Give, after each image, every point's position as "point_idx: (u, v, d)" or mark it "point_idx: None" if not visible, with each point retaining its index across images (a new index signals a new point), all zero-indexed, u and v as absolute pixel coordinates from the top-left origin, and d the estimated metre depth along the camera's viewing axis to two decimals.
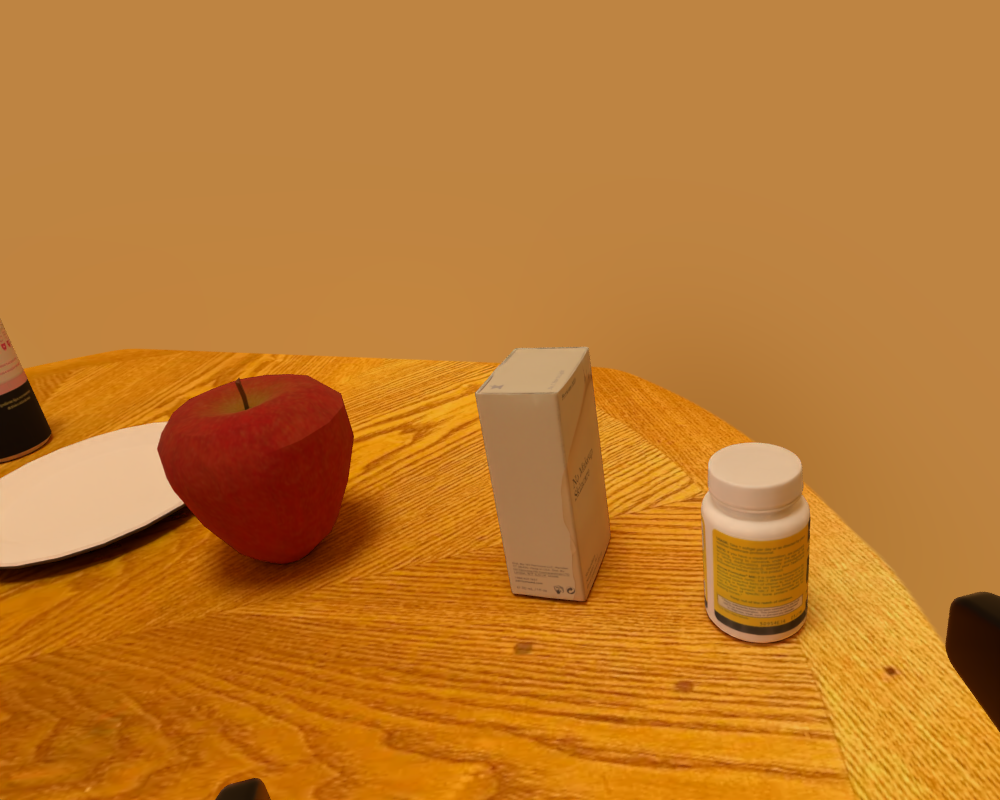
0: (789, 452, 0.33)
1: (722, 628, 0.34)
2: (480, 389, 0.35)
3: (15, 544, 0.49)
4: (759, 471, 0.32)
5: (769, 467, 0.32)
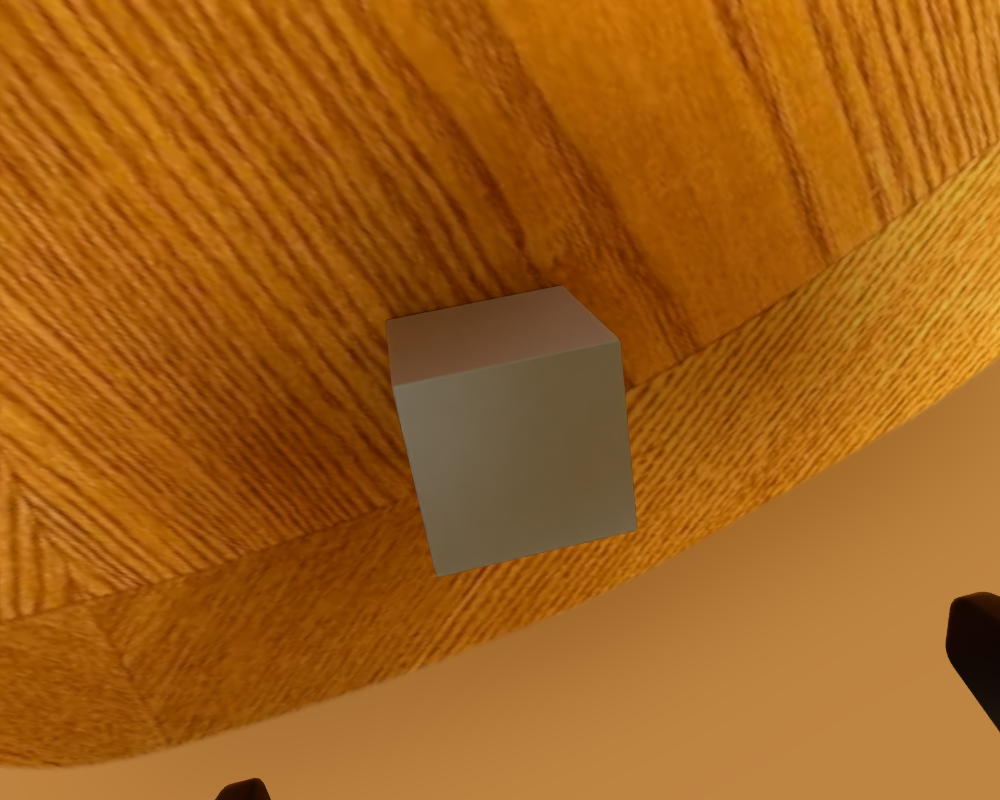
0: None
1: None
2: None
3: None
4: None
5: None
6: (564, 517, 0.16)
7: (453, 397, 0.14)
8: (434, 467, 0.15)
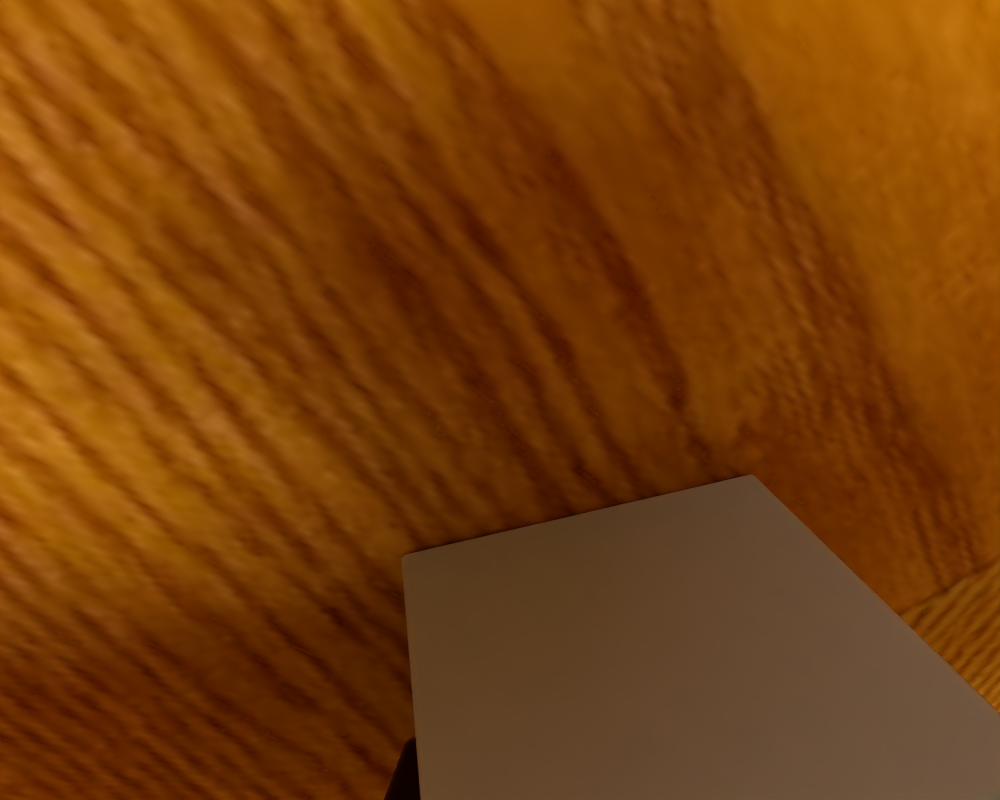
0: None
1: None
2: None
3: None
4: None
5: None
6: None
7: None
8: None
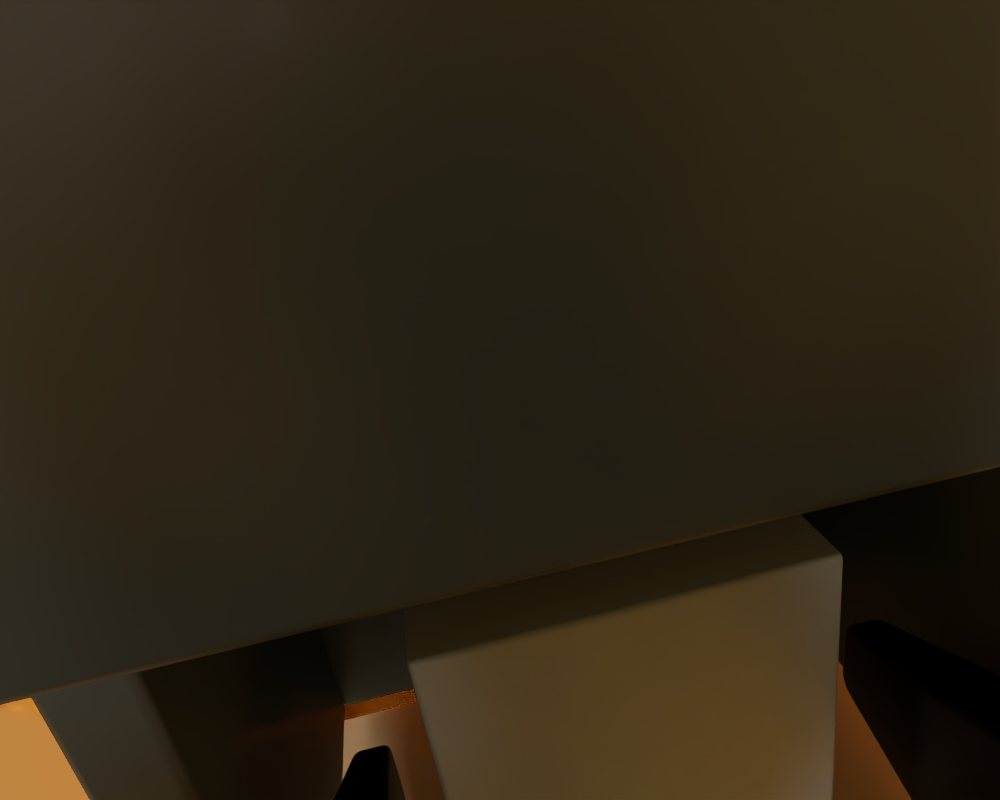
0: None
1: None
2: None
3: None
4: None
5: None
6: None
7: (526, 673, 0.07)
8: (487, 785, 0.08)
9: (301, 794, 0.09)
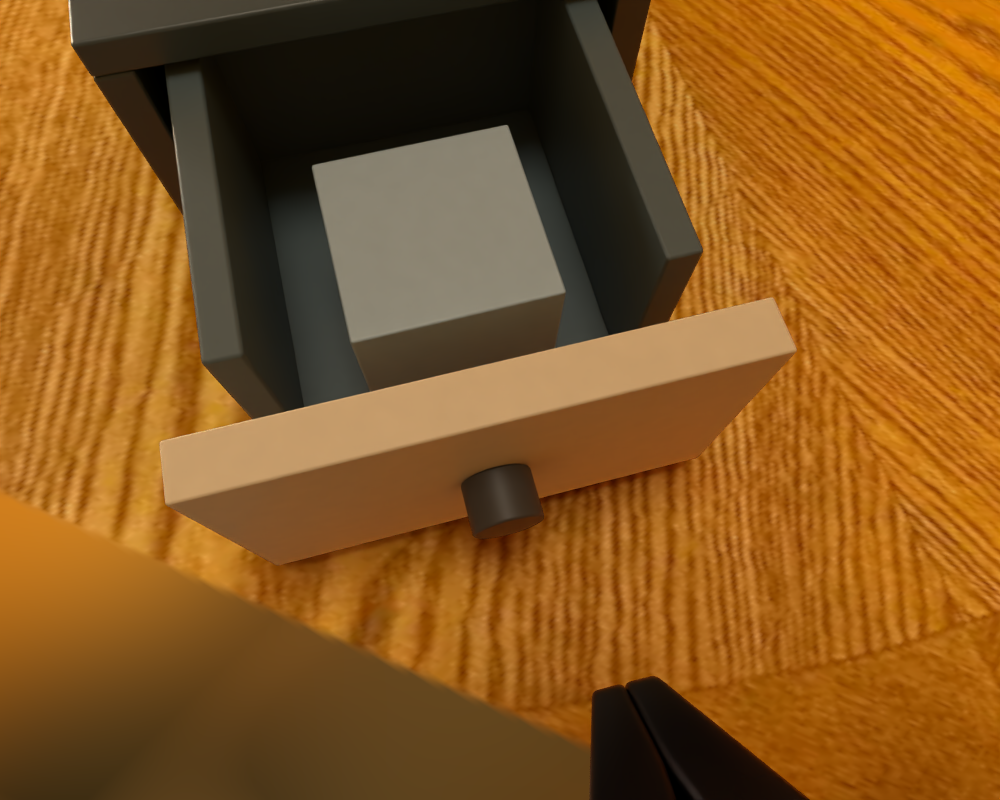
0: None
1: None
2: None
3: None
4: None
5: None
6: (482, 276, 0.15)
7: (364, 170, 0.16)
8: (347, 229, 0.16)
9: (261, 314, 0.16)
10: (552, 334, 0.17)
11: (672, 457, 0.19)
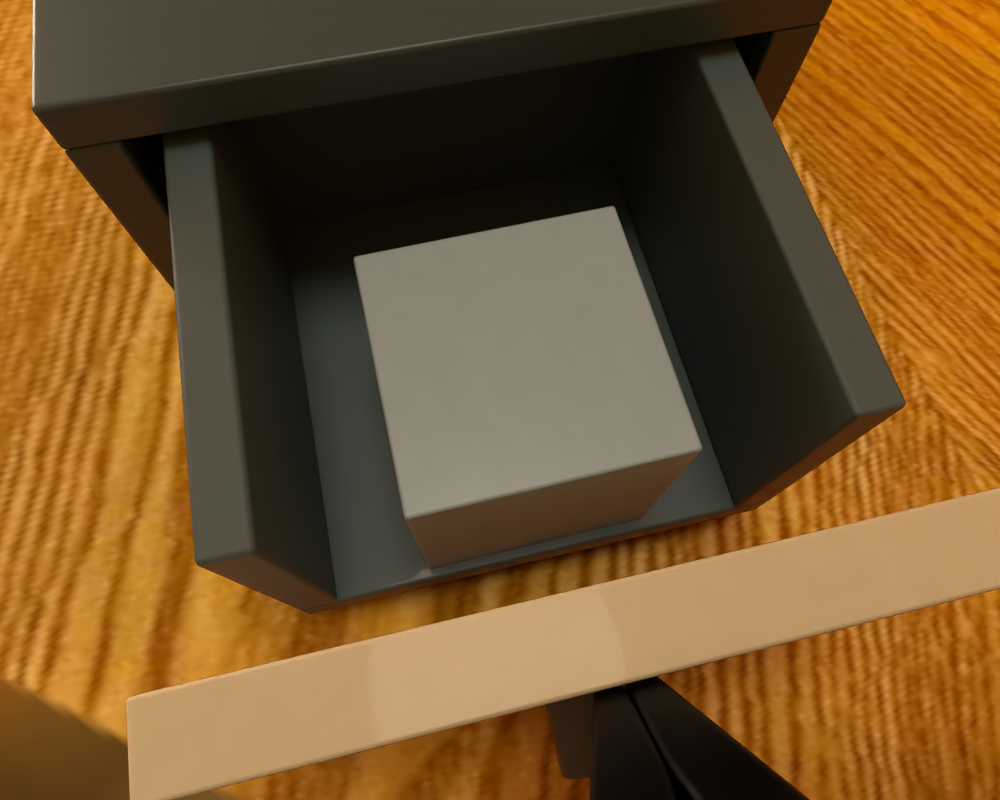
0: None
1: None
2: None
3: None
4: None
5: None
6: (586, 424, 0.11)
7: (424, 266, 0.12)
8: (401, 350, 0.11)
9: (281, 454, 0.12)
10: (666, 484, 0.13)
11: None
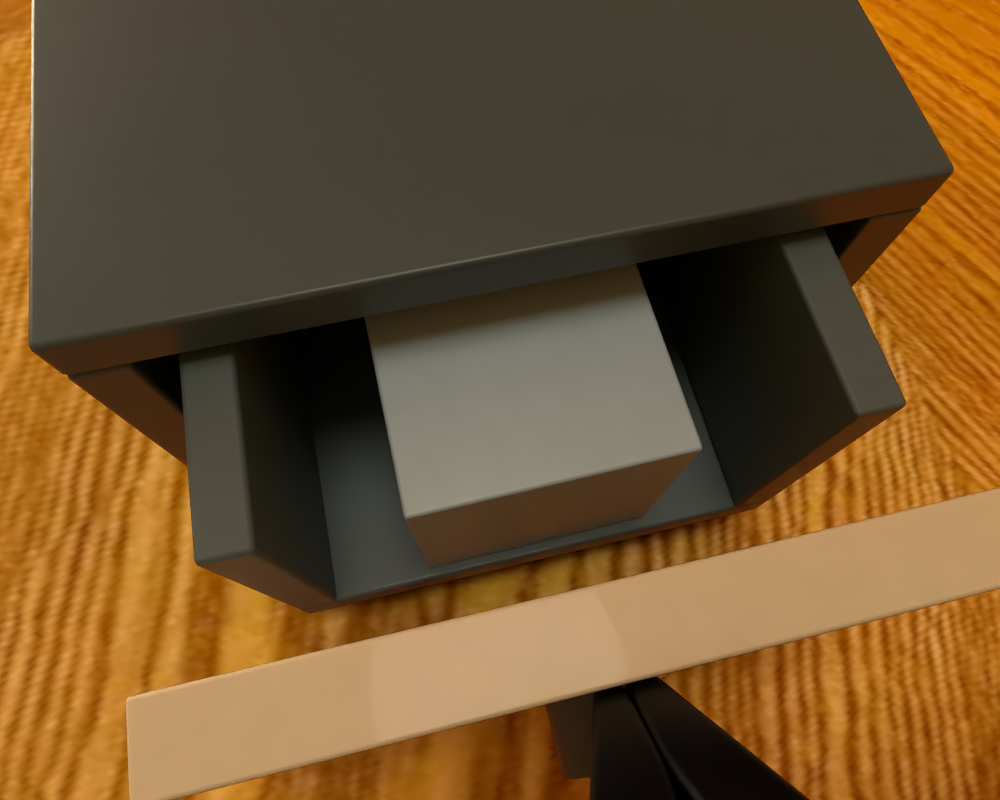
0: None
1: None
2: None
3: None
4: None
5: None
6: (586, 423, 0.11)
7: None
8: (401, 349, 0.11)
9: (281, 453, 0.12)
10: (666, 484, 0.13)
11: None
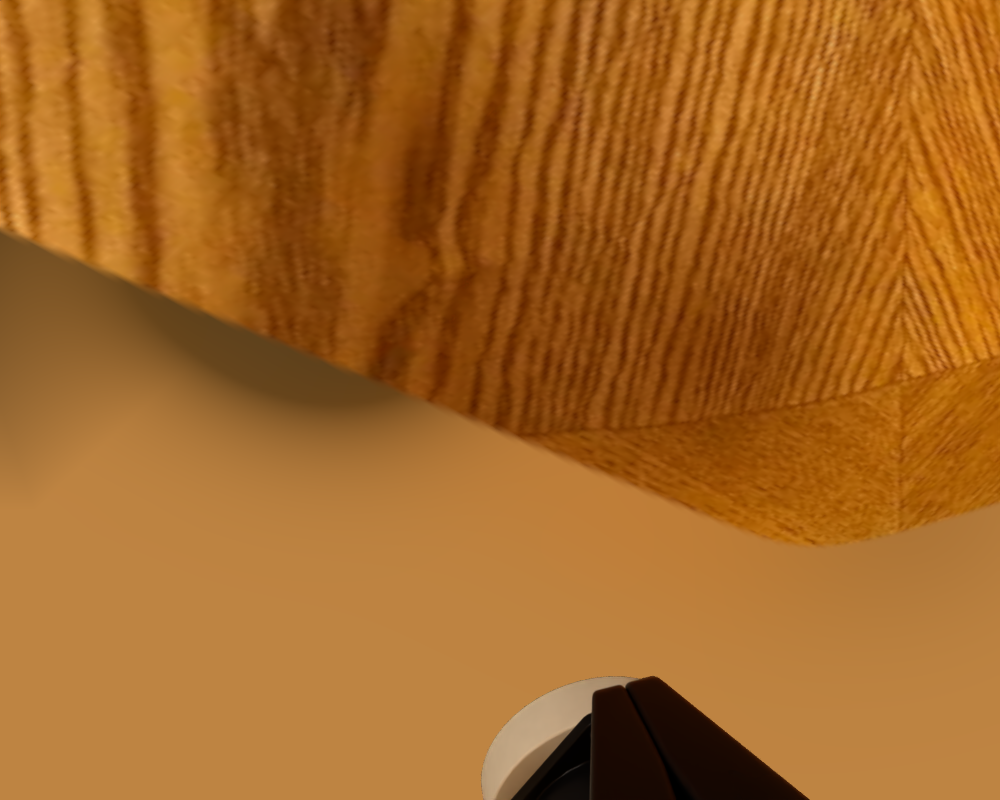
0: None
1: None
2: None
3: None
4: None
5: None
6: None
7: None
8: None
9: None
10: None
11: None
